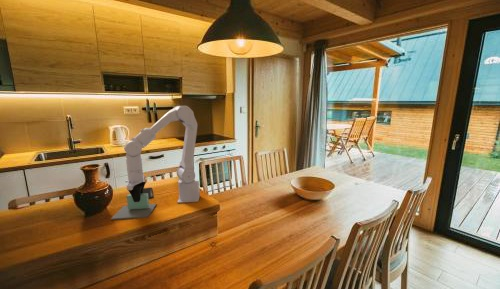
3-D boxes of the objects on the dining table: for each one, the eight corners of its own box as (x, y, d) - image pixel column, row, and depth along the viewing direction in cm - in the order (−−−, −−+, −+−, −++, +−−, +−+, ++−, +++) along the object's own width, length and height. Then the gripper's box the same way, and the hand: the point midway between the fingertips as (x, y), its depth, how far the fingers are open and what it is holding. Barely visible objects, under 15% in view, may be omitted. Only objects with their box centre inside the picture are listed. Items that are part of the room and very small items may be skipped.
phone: (152, 187, 126) (153, 196, 113) (152, 189, 126) (153, 198, 113) (135, 189, 123) (135, 199, 109) (136, 191, 123) (135, 201, 110)
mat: (156, 205, 105) (156, 203, 105) (148, 217, 93) (147, 216, 93) (124, 207, 103) (123, 205, 103) (111, 220, 91) (111, 218, 91)
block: (149, 206, 101) (147, 193, 100) (147, 208, 99) (146, 194, 98) (129, 207, 100) (128, 194, 99) (128, 209, 98) (126, 195, 97)
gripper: (131, 165, 103) (134, 194, 106) (116, 175, 89) (120, 208, 91) (148, 165, 104) (150, 193, 106) (136, 174, 90) (139, 207, 92)
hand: (138, 200), depth 99 cm, fingers closed on block, 2 cm apart
